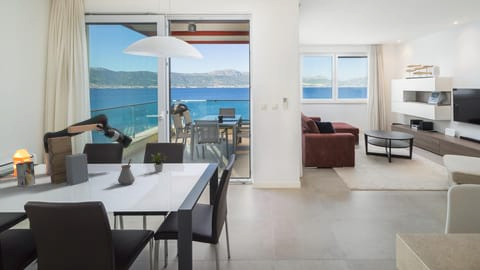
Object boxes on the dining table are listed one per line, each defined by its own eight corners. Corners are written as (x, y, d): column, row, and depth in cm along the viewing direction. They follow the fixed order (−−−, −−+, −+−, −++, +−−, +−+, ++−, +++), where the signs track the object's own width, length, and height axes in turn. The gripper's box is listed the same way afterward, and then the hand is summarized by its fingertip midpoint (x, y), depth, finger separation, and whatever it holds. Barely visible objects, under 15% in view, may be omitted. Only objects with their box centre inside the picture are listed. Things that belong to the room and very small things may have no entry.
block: (67, 132, 244) (67, 127, 243) (99, 128, 266) (98, 123, 265) (71, 133, 242) (71, 127, 241) (102, 129, 264) (102, 124, 263)
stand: (51, 182, 246) (47, 138, 242) (69, 178, 258) (66, 136, 254) (55, 183, 243) (52, 139, 239) (74, 179, 255) (71, 136, 251)
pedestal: (67, 183, 243) (65, 156, 240) (82, 180, 253) (80, 153, 251) (73, 185, 239) (71, 156, 237) (88, 181, 250) (86, 154, 247)
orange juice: (31, 173, 276) (29, 148, 274) (23, 176, 267) (21, 150, 265) (22, 173, 277) (20, 148, 275) (14, 175, 269) (12, 150, 266)
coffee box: (28, 183, 246) (26, 161, 244) (35, 183, 244) (33, 161, 242) (17, 186, 237) (15, 163, 235) (25, 187, 235) (23, 164, 233)
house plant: (156, 174, 268) (155, 154, 266) (145, 172, 276) (144, 152, 275) (170, 171, 279) (169, 151, 278) (159, 169, 288) (158, 149, 286)
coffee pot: (132, 185, 237) (131, 164, 235) (115, 186, 236) (114, 164, 234) (139, 178, 258) (138, 158, 256) (124, 178, 257) (123, 158, 255)
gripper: (107, 129, 279) (90, 120, 265) (119, 130, 272) (103, 121, 258) (104, 138, 276) (87, 129, 262) (116, 139, 269) (99, 130, 255)
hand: (95, 125), depth 260 cm, fingers closed on block, 4 cm apart
